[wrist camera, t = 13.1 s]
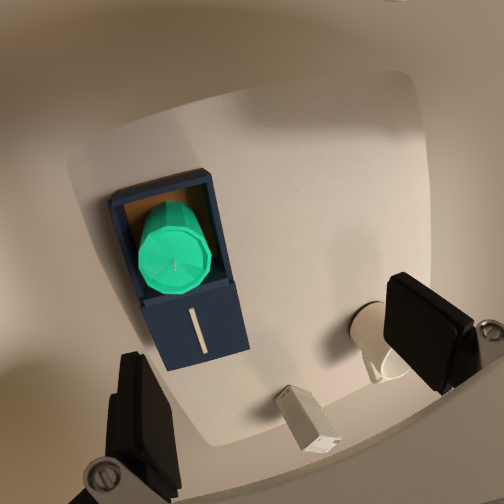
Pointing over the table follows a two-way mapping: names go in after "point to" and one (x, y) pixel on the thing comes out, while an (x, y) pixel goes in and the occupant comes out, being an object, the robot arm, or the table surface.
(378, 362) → the mug
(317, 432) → the cosmetic box
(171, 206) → the candle
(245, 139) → the table surface
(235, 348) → the navy slotted box
